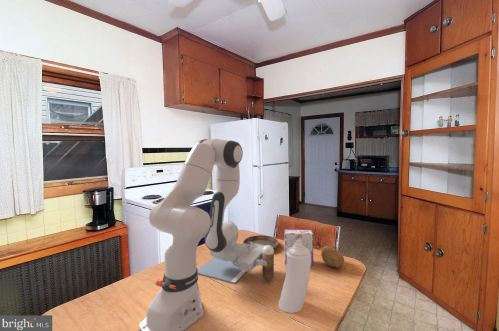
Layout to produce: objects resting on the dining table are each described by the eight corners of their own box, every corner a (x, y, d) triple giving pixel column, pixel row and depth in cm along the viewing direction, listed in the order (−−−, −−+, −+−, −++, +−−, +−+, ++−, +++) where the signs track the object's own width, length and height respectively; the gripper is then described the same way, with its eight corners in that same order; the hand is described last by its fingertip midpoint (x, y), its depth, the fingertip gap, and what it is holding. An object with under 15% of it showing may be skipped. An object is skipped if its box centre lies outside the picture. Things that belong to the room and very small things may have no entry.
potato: (331, 274, 114) (331, 257, 113) (316, 260, 128) (316, 245, 127) (350, 271, 116) (350, 255, 115) (334, 258, 129) (334, 243, 129)
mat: (235, 283, 107) (235, 282, 107) (194, 273, 116) (194, 271, 116) (252, 265, 123) (252, 263, 123) (215, 256, 132) (215, 255, 132)
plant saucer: (260, 258, 130) (260, 252, 130) (235, 247, 145) (235, 241, 145) (285, 247, 144) (285, 241, 144) (260, 237, 159) (260, 232, 159)
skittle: (271, 280, 106) (271, 248, 105) (260, 277, 108) (260, 246, 107) (275, 275, 110) (275, 244, 109) (264, 272, 112) (264, 242, 111)
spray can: (289, 291, 101) (290, 232, 98) (314, 302, 94) (315, 238, 92) (274, 306, 92) (273, 241, 89) (299, 319, 85) (300, 249, 83)
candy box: (311, 260, 127) (311, 229, 126) (313, 266, 121) (313, 233, 120) (284, 259, 129) (284, 228, 127) (284, 265, 123) (284, 232, 121)
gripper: (230, 256, 104) (260, 263, 98) (251, 240, 123) (277, 245, 117) (230, 271, 105) (260, 278, 99) (251, 252, 123) (277, 257, 117)
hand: (270, 260), depth 108 cm, fingers closed on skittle, 5 cm apart
